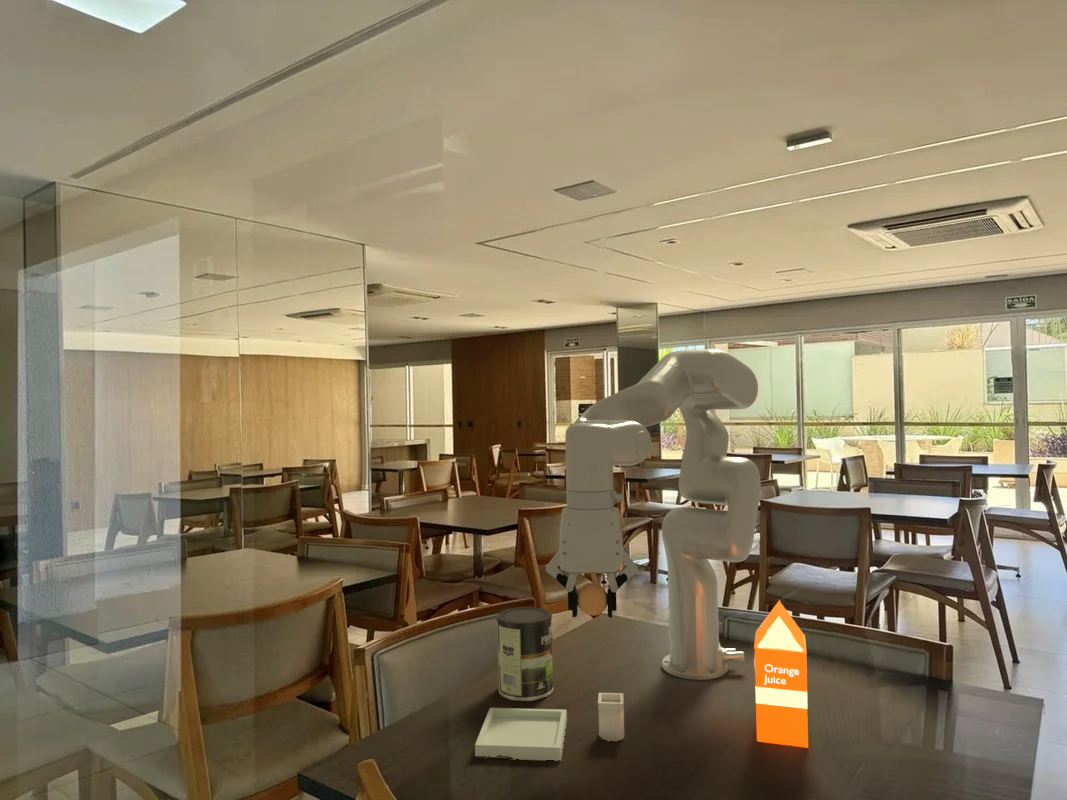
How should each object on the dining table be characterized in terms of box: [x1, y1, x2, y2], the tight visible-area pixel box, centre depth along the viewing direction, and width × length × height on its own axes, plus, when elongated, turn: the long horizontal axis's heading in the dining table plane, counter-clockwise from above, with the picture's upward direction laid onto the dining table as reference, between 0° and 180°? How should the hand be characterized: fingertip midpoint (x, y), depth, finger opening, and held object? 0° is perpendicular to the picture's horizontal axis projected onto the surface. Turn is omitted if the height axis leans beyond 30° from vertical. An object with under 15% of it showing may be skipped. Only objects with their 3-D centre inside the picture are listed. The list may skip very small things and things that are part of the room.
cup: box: [597, 692, 625, 743], centre depth 116 cm, size 4×4×6 cm
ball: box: [577, 582, 608, 616], centre depth 115 cm, size 5×5×5 cm
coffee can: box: [495, 606, 554, 702], centre depth 135 cm, size 10×10×14 cm
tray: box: [474, 707, 568, 762], centre depth 115 cm, size 13×13×2 cm
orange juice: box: [753, 599, 809, 749], centre depth 116 cm, size 8×9×20 cm
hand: (592, 613), depth 115 cm, fingers closed on ball, 4 cm apart
